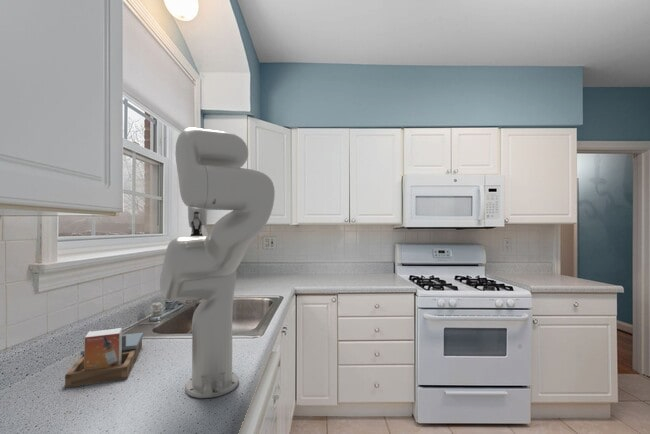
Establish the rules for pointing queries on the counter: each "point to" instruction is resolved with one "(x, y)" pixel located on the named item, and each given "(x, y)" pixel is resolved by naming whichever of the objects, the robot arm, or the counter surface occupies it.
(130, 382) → the counter surface
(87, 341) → the small box
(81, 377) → the brown wooden shallow tray
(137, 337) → the cover
